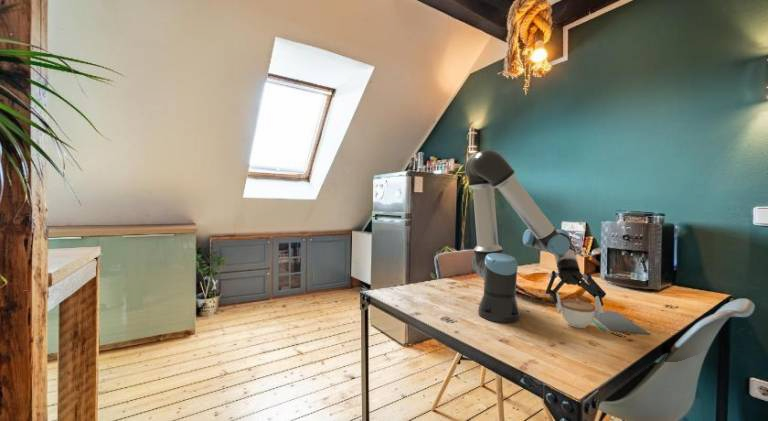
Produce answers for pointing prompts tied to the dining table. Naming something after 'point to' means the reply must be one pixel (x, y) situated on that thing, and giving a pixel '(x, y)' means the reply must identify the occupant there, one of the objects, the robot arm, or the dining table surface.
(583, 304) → the lidded jar
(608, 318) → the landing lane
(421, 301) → the dining table surface
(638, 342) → the dining table surface
